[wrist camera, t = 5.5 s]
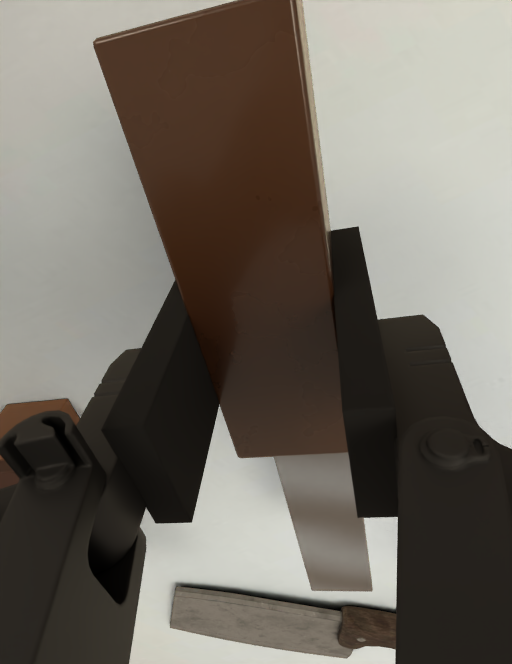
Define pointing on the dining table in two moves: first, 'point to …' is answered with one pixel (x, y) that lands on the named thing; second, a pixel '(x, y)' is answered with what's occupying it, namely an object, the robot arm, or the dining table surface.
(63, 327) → the dining table surface
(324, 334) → the knife
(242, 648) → the dining table surface
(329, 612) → the cleaver
